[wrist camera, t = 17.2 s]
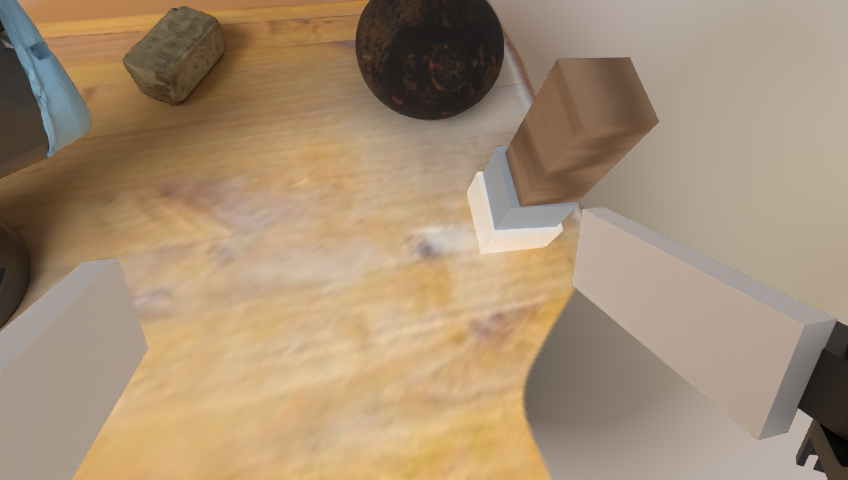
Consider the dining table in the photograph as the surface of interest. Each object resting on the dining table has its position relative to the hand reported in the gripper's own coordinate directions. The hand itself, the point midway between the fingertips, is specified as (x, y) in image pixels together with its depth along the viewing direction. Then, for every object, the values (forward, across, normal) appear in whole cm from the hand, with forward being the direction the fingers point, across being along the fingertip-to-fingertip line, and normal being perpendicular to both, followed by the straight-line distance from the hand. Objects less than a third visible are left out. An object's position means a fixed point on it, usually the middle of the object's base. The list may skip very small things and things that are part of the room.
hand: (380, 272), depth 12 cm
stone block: (+50, -16, +5) cm, 53 cm away
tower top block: (+29, +19, -8) cm, 36 cm away
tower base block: (+32, +19, -12) cm, 39 cm away
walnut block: (+25, +19, -5) cm, 32 cm away
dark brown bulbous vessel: (+47, +13, +3) cm, 49 cm away
